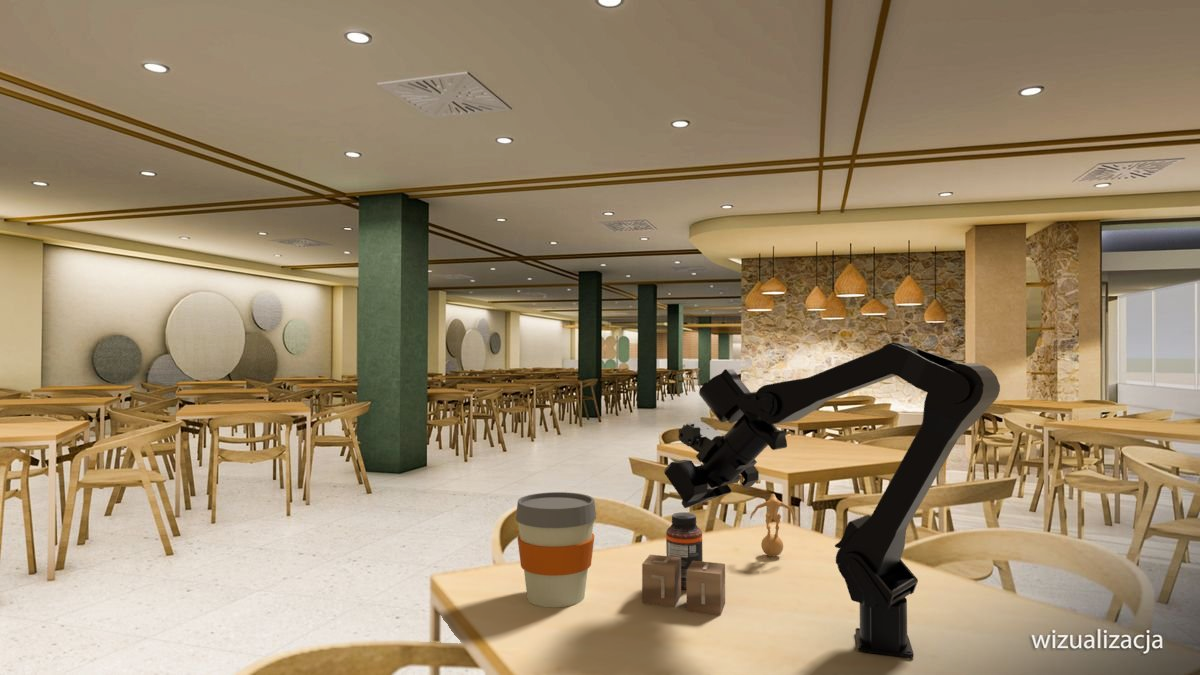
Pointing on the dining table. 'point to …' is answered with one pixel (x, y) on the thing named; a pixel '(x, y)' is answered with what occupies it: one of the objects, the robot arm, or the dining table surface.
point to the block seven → (661, 580)
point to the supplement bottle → (684, 541)
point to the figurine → (772, 542)
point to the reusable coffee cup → (555, 546)
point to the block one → (705, 587)
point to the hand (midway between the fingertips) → (684, 505)
